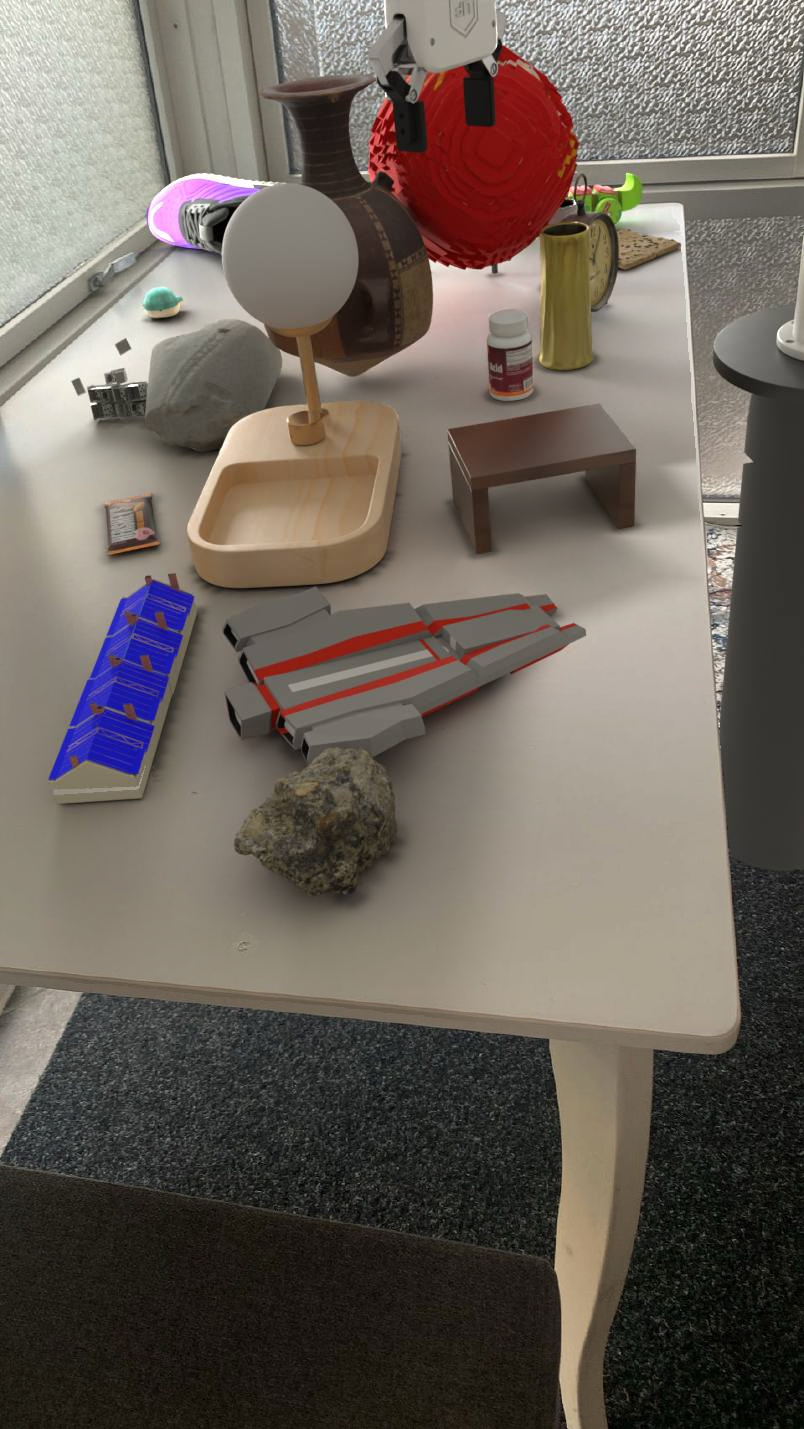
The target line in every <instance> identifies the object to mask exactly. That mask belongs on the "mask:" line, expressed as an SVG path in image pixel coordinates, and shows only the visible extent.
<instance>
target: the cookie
mask: <svg viewBox="0 0 804 1429" xmlns="http://www.w3.org/2000/svg"><path fill="white" fill-rule="evenodd" d="M616 231H617V236H618V242H619V264H618V269H621V270H623V271H624V270H626V271H627V270H629V269H631V268H634V267H637V266H638V265H642V264H644V263H647V262H649V261H651V260H654V259H655V258H659V257H660V256H663V255H664V254H667V253H670V252H673V251H674V250H678V249H680V248H681V247H682V243H681V242H678V241H677V240H675V239H673V238H671V239H670V238H665V237H663V236H655V235H654V236H653V235H649V234H644V233H640V232H637V231H633V230H631V229H627V230H626V229H620V228H616Z"/></svg>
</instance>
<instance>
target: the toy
mask: <svg viewBox="0 0 804 1429" xmlns="http://www.w3.org/2000/svg"><path fill="white" fill-rule="evenodd" d="M497 65H498V72H497V74H496V76H494V77H492V78H494V95H495V117H496V123H495V125H494V126H491V127H480V126H468V125H467V124H466V122H465V107H464V91H463V78H464V77H470V76H469V75H468V73H467V72H466V70H465V69H464V67H463V66H460V67H457V68H454V69H450V70H447V71H444V72H440V73H430V72H427V74H426V77H425V80H424V83H423V86H422V89H421V91H420V94H419V97H418V100H417V101H423V102H424V108H425V120H426V133H427V145H428V147H427V150H426V151H425V152H422V153H417V152H405V151H399V150H398V149H397V144H396V134H395V124H394V113H393V103H392V102H389V101H388V100H387V98H386V97H385V99H384V100H383V102H382V105H381V106H380V109H379V111H378V112H377V115H376V117H375V118H374V122H373V125H372V127H371V130H370V133H371V137H370V139H369V142H368V146H369V153H368V154H369V156H368V170H367V174H368V175H369V179H370V180H369V182H372V181H374V179H375V178H376V175H377V174H376V172H378V171H383V172H385V173H386V174H388V175H389V176H390V177H391V178H392V179H393V180H394V184H393V185H392V187H391V193H392V194H393V195H394V196H395V197H396V198H397V199H398V200H399V201H400V202H401V203H402V204H403V206H404V207H405V208H406V209H407V210H408V212H409V213H410V215H411V216H412V218H413V220H414V222H415V223H416V225H417V227H418V229H419V232H420V234H421V236H422V238H423V241H424V244H425V247H426V250H427V253H428V258H429V261H431V262H433V263H434V264H437V263H439V264H441V265H443V266H445V267H447V268H449V267H450V266H452V267H454V268H457V269H461V270H463V271H466V269H467V268H468V269H471V270H483V269H485V268H486V267H492V266H493V265H494V264H502V263H505V262H510V261H512V259H513V258H514V257H515V256H517V255H518V254H520V253H521V252H523V251H524V250H526V249H527V248H528V247H529V246H530V245H532V244H533V243H534V241H536V240H537V239H538V238H539V235H540V231H541V229H542V228H544V227H546V226H547V225H548V224H549V222H550V221H551V219H552V218H553V216H554V214H555V213H556V211H557V210H558V208H559V207H560V205H561V204H562V202H563V201H564V199H565V198H566V195H567V194H568V195H569V191H570V188H571V187H572V183H573V180H574V176H575V174H576V170H577V167H578V163H577V159H578V157H579V154H578V149H579V146H580V142H579V139H578V138H577V135H576V133H574V132H573V131H572V130H574V122H573V116H572V115H571V113H570V112H568V109H567V107H566V105H565V103H564V102H562V99H563V96H562V94H560V92H559V89H558V88H557V86H555V85H554V84H553V83H552V82H551V80H550V79H549V78H548V76H547V75H546V74H545V73H543V72H542V71H540V70H539V69H538V68H536V67H535V66H534V65H532V64H530V63H529V62H528V61H526V60H525V59H524V58H522V57H521V56H520V55H518V54H517V53H515V52H514V51H513V50H511V49H510V48H508V47H507V46H506V45H505V44H504V45H503V44H502V51H501V54H500V56H499V58H498V61H497ZM410 77H411V75H407V76H406V79H405V81H406V82H407V84H408V83H409V80H410Z"/></svg>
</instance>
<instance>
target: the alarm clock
mask: <svg viewBox="0 0 804 1429" xmlns="http://www.w3.org/2000/svg"><path fill="white" fill-rule="evenodd" d="M581 178H583V182H584V185H585V191H584V196H583V199H580V200H578V201H577V198H576V191H577V186H578V184H579V181H580V179H581ZM573 186H574V200H575V203H576V205H577V206H578V209H577V212H574V213H570V214H569V215H567V216H566V217H565V218H563V220H562V221H561V222H580V223H584V224H586V225H588V226H589V230H590V237H589V272H590V300H591V313H597V312H598V311H600V310H602V309H603V308H604V306H606V305H607V304H608V303H609V300H610V297H611V295H612V293H613V291H614V288H615V284H616V280H617V276H618V272H619V267H618V264H619V242H618V236H617V231H616V229H617V228H616V225H615V224H614V222H613V220H612V219H611V217H610V216H609V215H608V214H607V213H605V212H585V208H584V204H585V201H584V200H585V197H586V193H587V186H588V179H587V176H586V174H585V173H580V174H579V175H577V177H576V180H575V182H574V185H573ZM561 222H560V223H561Z"/></svg>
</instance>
